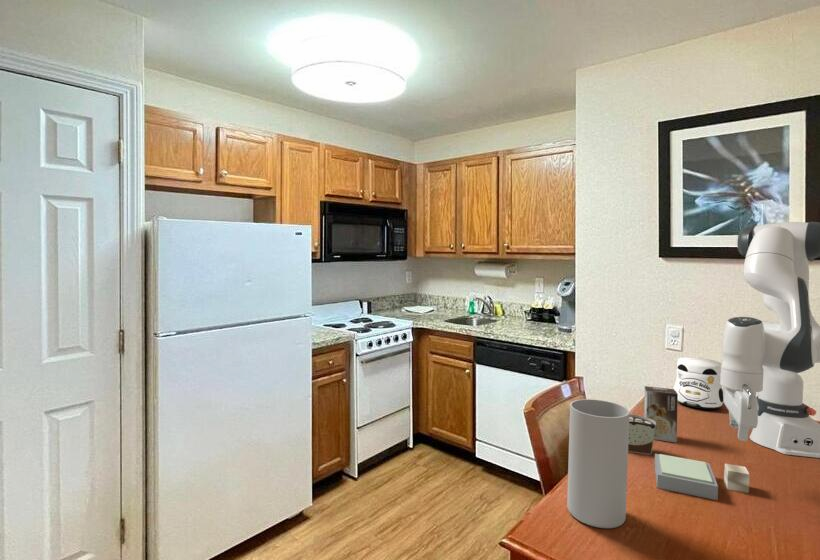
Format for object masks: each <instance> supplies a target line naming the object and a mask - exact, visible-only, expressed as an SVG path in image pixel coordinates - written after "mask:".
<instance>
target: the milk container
mask: <svg viewBox="0 0 820 560" xmlns="http://www.w3.org/2000/svg"><path fill="white" fill-rule="evenodd" d="M721 364H722V363H721V362H720V361H718V360H717V361H716V360H712V359H707V358H701V357H692V356H691V357H687V356H686V357H684V356H683V357H679V358H678V359H677V364H676V378H675V379H676V380H675V382H674V386H673V389H674V390H675V391H676V392H677V394H678V403H679V404H682V405H683V406H684V405H685V406H687V407H691V408H696V409H702V410H703V409H704V410H714V409H718V408H720V407H722V406H723V404H724V399H723V386H722V385H721V384H720V374H721Z"/></svg>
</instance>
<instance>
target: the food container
mask: <svg viewBox="0 0 820 560" xmlns="http://www.w3.org/2000/svg"><path fill="white" fill-rule="evenodd" d="M655 429H657V430H658V427H657V424H656V422H655V421H653V420H652V419H650V418H647V417H644V415H639V414H632V413H629V439H628V453H636V454H641V455H642V454H643V455H650V456H651V455H652V453H653V447H654V443H655V442H654V441H655V440H654V435H655Z"/></svg>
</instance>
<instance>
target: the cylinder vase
mask: <svg viewBox="0 0 820 560" xmlns="http://www.w3.org/2000/svg"><path fill="white" fill-rule="evenodd" d="M629 414H630V410H629V409H628V408H627V407H626V406H625V405H624V406H623V405H621V404H619V403H616V402H612V401H608V400H602V399H596V398H595V399H594V398H591V399H590V398H584V399H581V398H580V399H576V400H572V401H571V402H570V404H569V430H568V431H569V433H568V435H569V436H568V437H569V438H568V462H567V463H568V464H567V465H568V467H567V468H568V469H567V500H566V501H567V503H566V506H567V509H568V511H569V513H570V514H571V516H572V517H574V518H575V519H576V520H578V521H579V522H581V523H583V524H586V525H587V526H590V527H593V528H594V527H595V528H598V529H599V528H600V529H614V528H618V527H621V526H622V525H623V524H624V523H625V521H626V517H627V490H628V489H627V487H628V466H629V465H628V463H629V452H628V439H629Z"/></svg>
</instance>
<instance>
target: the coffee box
mask: <svg viewBox="0 0 820 560" xmlns="http://www.w3.org/2000/svg"><path fill="white" fill-rule="evenodd" d="M643 403H644V404H643V407H644V408H643V417H647V418H650V419H652V420H653V421H655V422H656V424H657V427H658V430H657V429H655V435H654V441H656V440H657V441H665V442H668V443H669V442H670V443H677V441H678V439H677V438H678V436H677V435H678V403H679V402H678V394H677V392H676V391H675V390H674V388H667V387H666V388H665V387H657V386H656V387H655V386H647V385H646V386H645V385H644V402H643Z"/></svg>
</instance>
